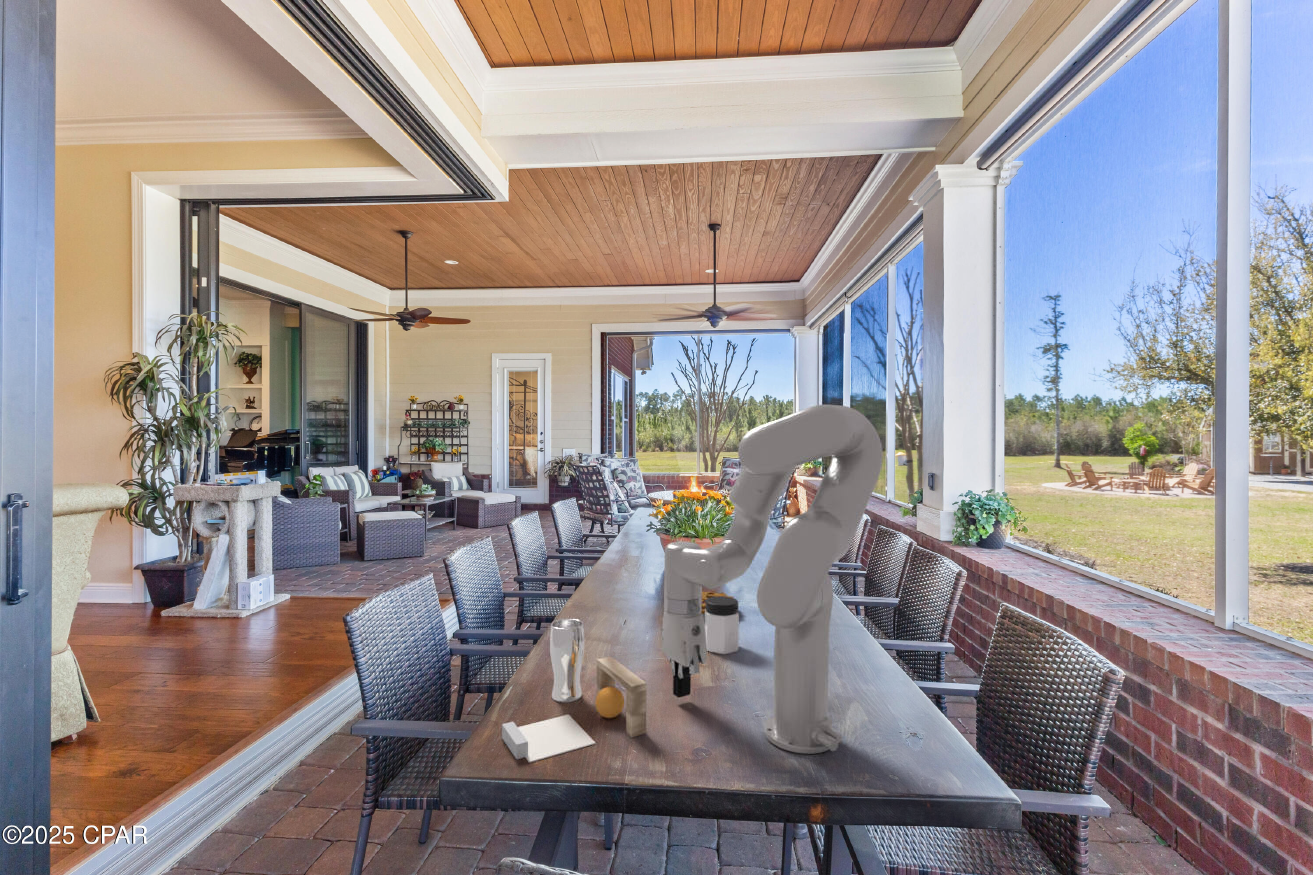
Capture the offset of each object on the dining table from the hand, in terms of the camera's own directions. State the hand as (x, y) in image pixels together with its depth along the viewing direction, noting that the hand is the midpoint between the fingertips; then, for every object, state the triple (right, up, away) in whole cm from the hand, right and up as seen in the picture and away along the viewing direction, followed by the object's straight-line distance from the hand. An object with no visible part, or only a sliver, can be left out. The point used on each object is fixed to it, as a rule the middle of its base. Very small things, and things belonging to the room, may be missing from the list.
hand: (681, 694), depth 124 cm
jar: (+11, -1, +30) cm, 32 cm away
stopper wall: (-30, -2, -18) cm, 35 cm away
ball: (-14, +1, -6) cm, 15 cm away
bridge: (-12, -2, -7) cm, 14 cm away
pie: (+8, -1, +59) cm, 59 cm away
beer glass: (-23, -1, +2) cm, 24 cm away
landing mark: (-24, -2, -14) cm, 28 cm away
